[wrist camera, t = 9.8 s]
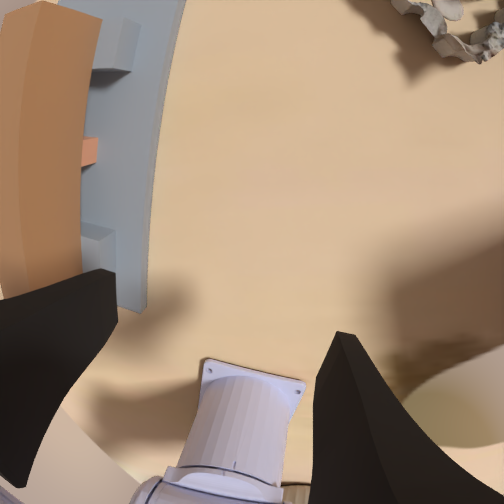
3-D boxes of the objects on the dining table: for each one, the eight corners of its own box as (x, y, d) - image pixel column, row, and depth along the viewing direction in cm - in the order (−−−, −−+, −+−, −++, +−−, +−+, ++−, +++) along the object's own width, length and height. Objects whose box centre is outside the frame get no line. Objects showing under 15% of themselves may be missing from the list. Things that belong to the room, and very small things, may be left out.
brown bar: (83, 277, 19) (36, 317, 14) (48, 264, 19) (1, 299, 14) (102, 19, 12) (42, 0, 8) (61, 26, 12) (1, 15, 8)
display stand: (146, 306, 22) (128, 329, 20) (48, 271, 23) (26, 287, 20) (189, -13, 13) (170, -32, 11) (66, 3, 14) (40, -5, 11)
